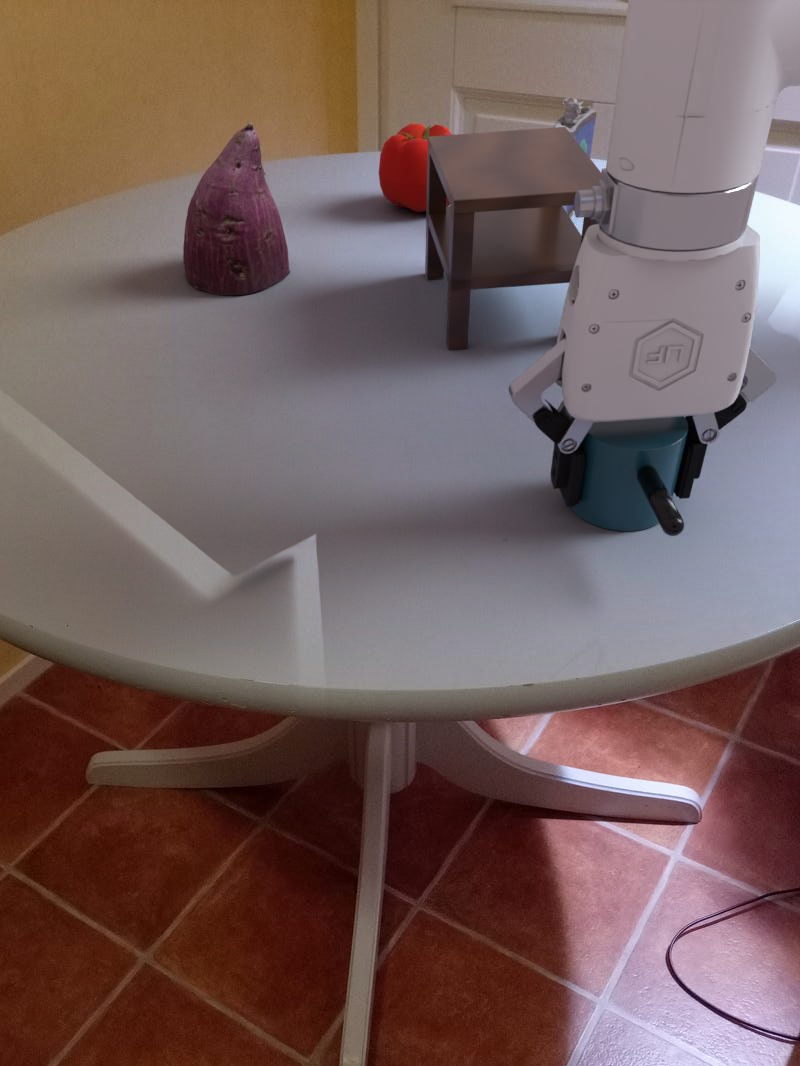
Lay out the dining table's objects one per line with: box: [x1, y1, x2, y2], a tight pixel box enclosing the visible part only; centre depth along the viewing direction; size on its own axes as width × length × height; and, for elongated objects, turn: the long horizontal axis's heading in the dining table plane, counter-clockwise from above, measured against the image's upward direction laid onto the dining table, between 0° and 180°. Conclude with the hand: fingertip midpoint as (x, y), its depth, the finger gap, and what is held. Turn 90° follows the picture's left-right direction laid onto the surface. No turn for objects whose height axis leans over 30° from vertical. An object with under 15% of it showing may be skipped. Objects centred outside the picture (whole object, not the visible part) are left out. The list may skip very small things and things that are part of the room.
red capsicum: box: [378, 123, 453, 213], centre depth 103 cm, size 9×9×8 cm
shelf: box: [424, 127, 602, 351], centre depth 83 cm, size 12×16×12 cm
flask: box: [552, 96, 597, 218], centre depth 98 cm, size 9×3×11 cm, turn 152°
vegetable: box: [182, 121, 291, 296], centre depth 91 cm, size 10×10×15 cm
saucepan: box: [571, 416, 688, 537], centre depth 60 cm, size 6×12×6 cm, turn 2°
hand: (621, 488), depth 63 cm, fingers closed on saucepan, 6 cm apart
